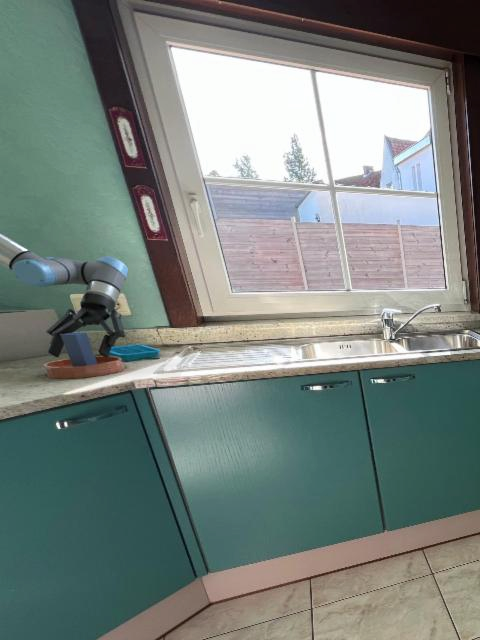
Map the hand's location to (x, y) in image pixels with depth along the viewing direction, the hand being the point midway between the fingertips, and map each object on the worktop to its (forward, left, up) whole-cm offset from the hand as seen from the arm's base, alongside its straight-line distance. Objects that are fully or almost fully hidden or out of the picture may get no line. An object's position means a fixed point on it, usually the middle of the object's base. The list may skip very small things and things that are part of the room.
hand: (78, 354), depth 151 cm
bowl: (0, +1, -6) cm, 6 cm away
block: (0, +1, -6) cm, 6 cm away
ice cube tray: (+8, +26, -6) cm, 28 cm away
